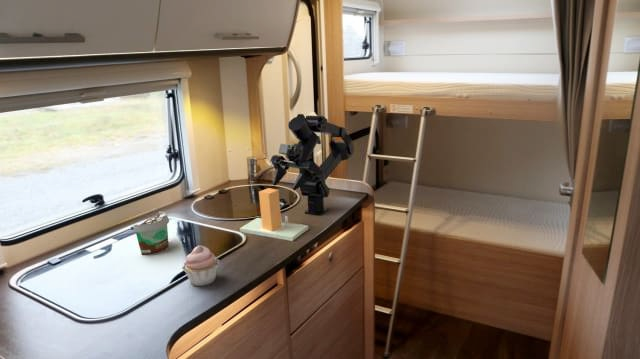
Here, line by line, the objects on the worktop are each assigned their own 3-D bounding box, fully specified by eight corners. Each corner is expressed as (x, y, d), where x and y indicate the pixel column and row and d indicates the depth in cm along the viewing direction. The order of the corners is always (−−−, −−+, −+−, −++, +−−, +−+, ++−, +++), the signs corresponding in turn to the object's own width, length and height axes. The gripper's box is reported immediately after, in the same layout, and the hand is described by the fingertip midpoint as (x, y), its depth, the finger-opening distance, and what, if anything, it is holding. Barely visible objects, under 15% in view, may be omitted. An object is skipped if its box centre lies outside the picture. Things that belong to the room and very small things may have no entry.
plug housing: (271, 224, 149) (268, 187, 146) (281, 227, 147) (278, 190, 143) (262, 228, 146) (258, 191, 143) (272, 231, 143) (268, 193, 140)
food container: (155, 259, 132) (150, 227, 129) (138, 257, 134) (132, 225, 131) (181, 241, 143) (176, 212, 140) (164, 240, 145) (159, 210, 142)
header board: (257, 220, 156) (256, 210, 155) (308, 229, 147) (307, 218, 146) (240, 231, 148) (238, 221, 147) (292, 240, 139) (291, 229, 138)
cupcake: (199, 293, 111) (194, 256, 109) (177, 283, 117) (171, 247, 114) (229, 278, 118) (224, 243, 115) (207, 268, 124) (202, 235, 121)
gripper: (272, 131, 152) (249, 170, 147) (313, 136, 140) (290, 178, 135) (290, 149, 160) (269, 187, 155) (330, 155, 148) (309, 197, 143)
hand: (283, 187), depth 147 cm, fingers open, 9 cm apart
